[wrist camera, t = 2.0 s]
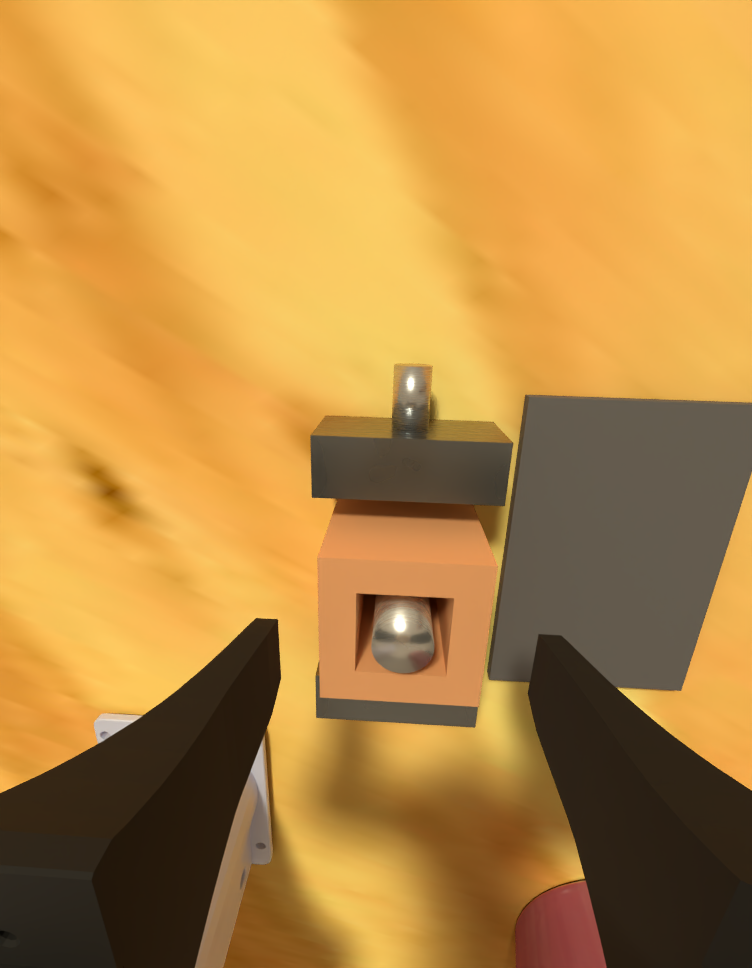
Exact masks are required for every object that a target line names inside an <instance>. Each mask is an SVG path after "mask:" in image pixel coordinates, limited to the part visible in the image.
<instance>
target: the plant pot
mask: <svg viewBox="0 0 752 968" xmlns="http://www.w3.org/2000/svg"><path fill="white" fill-rule="evenodd" d="M515 942H516V968H607V967H606V962H605V958H604V954H603V949H602V945H601V940H600V936H599V932H598V928H597V924H596V920H595V916H594V912H593V908H592V904H591V900H590V896H589V892H588V888H587V884H586V880H585V881H578V882H574V883H569V884H566V885H562V886H558V887H556V888H554V889H551V890H549V891H547V892H545V893H543V894H541V895H539V896H538V897H537V898H535V899H534V900H533V901H531V902H530V903H529V904H528V905H527V906H526V908H525V909H524V910H523V911H522V913H521V915H520V916H519V918H518V921H517V924H516V930H515Z"/></svg>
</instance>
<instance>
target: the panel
mask: <svg viewBox="0 0 752 968" xmlns="http://www.w3.org/2000/svg"><path fill="white" fill-rule="evenodd" d="M751 472H752V403H743V402H715V401H687V400H659V399H630V398H602V397H574V396H545V395H525V402H524V409H523V416H522V424H521V431H520V438H519V445H518V453H517V460H516V467H515V474H514V482H513V489H512V496H511V503H510V511H509V518H508V525H507V532H506V539H505V547H504V554H503V561H502V568H501V576H500V583H499V590H498V597H497V605H496V612H495V619H494V626H493V634H492V641H491V648H490V655H489V663H488V670H487V672H488V676H489V680H503V681H520V682H530V679H531V673H532V668H533V662H534V657H535V651H536V646H537V640H538V634H547V635H561V636H563V637H564V638H565V639H566V640H567V641H568V642H569V643H570V644H571V645H572V646H573V647H574V648H575V649H576V650H577V651H578V652H579V653H580V654H581V655H582V656H583V657H584V658H585V659H586V660H588V661H589V662H590V663H591V664H592V665H593V666H594V667H595V668H596V669H597V670H598V671H599V672H600V673H601V674H602V675H603V676H604V677H605V678H606V679H607V680H608V681H609V682H610V683H612V684H613V685H614V686H615V687H625V688H642V689H660V690H677V691H681V689H682V686H683V683H684V680H685V677H686V674H687V671H688V668H689V665H690V661H691V658H692V655H693V652H694V649H695V646H696V643H697V640H698V637H699V634H700V630H701V627H702V624H703V621H704V618H705V615H706V612H707V609H708V606H709V603H710V599H711V596H712V593H713V590H714V587H715V584H716V581H717V578H718V575H719V572H720V568H721V565H722V562H723V559H724V556H725V553H726V550H727V547H728V544H729V541H730V537H731V534H732V531H733V528H734V525H735V522H736V519H737V516H738V513H739V510H740V506H741V503H742V500H743V497H744V494H745V491H746V488H747V485H748V482H749V479H750V475H751Z"/></svg>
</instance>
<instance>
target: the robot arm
mask: <svg viewBox="0 0 752 968" xmlns="http://www.w3.org/2000/svg"><path fill="white" fill-rule="evenodd" d="M280 680H281V670H280V652H279V634H278V619H261V618H256V619H255V620H254V621H253V622H251V623H250V624H249V625H248V626H247V627H246V628H245V629H244V630H243V631H242V632H241V633H240V634H239V635H238V636H237V637H236V638H235V639H234V640H233V641H232V642H231V643H230V644H229V645H228V646H227V647H226V648H225V649H224V650H223V651H222V652H220V653H219V654H218V655H217V656H216V657H215V658H214V659H213V660H212V661H211V662H210V663H209V664H207V665H206V666H205V667H204V668H203V669H202V670H201V671H200V672H198V673H197V674H196V675H195V676H194V677H193V678H191V679H190V680H189V681H188V682H187V683H185V684H184V685H183V686H182V687H181V688H179V689H178V690H177V691H176V692H174V693H173V694H172V695H171V696H169V697H168V698H167V699H166V700H164V701H163V702H162V703H160V704H159V705H157V706H156V707H154V708H153V709H152V710H150V711H149V712H147V713H146V714H145V715H143V716H142V715H126V714H110V713H105V714H101V715H99V717H98V718H97V719H96V721H95V722H94V729H95V733H96V737H97V741H98V744H97V745H95V746H94V747H92V748H90V749H88V750H86V751H85V752H83V753H81V754H79V755H78V756H76V757H74V758H72V759H70V760H68V761H66V762H64V763H62V764H61V765H59V766H57V767H55V768H53V769H51V770H49V771H47V772H45V773H43V774H41V775H39V776H37V777H35V778H32V779H30V780H28V781H26V782H24V783H22V784H19V785H17V786H15V787H13V788H11V789H9V790H6V791H4V792H2V793H0V968H223V967H224V963H225V960H226V956H227V952H228V949H229V945H230V941H231V938H232V934H233V930H234V927H235V923H236V919H237V915H238V912H239V908H240V904H241V901H242V897H243V893H244V890H245V886H246V882H247V879H248V875H249V871H250V868H251V864H262V865H263V864H268V863H269V862H270V861H271V859H272V855H273V845H272V831H271V817H270V803H269V789H268V775H267V762H266V748H265V732H266V729H267V726H268V724H269V721H270V718H271V715H272V712H273V708H274V704H275V700H276V696H277V692H278V688H279V684H280ZM528 696H529V700H530V705H531V710H532V714H533V718H534V722H535V727H536V731H537V734H538V736H539V739H540V742H541V745H542V748H543V751H544V754H545V756H546V759H547V762H548V765H549V768H550V770H551V773H552V776H553V779H554V781H555V784H556V787H557V790H558V792H559V795H560V798H561V801H562V803H563V806H564V809H565V812H566V814H567V817H568V820H569V823H570V826H571V829H572V833H573V836H574V839H575V842H576V846H577V850H578V853H579V857H580V861H581V865H582V869H583V872H584V876H585V880H586V884H587V888H588V892H589V896H590V900H591V904H592V908H593V912H594V916H595V920H596V924H597V928H598V932H599V936H600V940H601V945H602V949H603V954H604V958H605V962H606V967H607V968H752V791H751V790H750V789H748V788H747V787H745V786H744V785H742V784H741V783H739V782H738V781H736V780H735V779H733V778H732V777H730V776H728V775H727V774H725V773H724V772H722V771H721V770H719V769H718V768H716V767H715V766H714V765H712V764H711V763H709V762H708V761H706V760H705V759H703V758H702V757H701V756H699V755H698V754H697V753H695V752H694V751H693V750H691V749H690V748H688V747H687V746H686V745H684V744H683V743H682V742H680V741H679V740H678V739H676V738H675V737H674V736H672V735H671V734H670V733H669V732H667V731H666V730H665V729H664V728H662V727H661V726H660V725H659V724H657V723H656V722H655V721H654V720H653V719H651V718H650V717H649V716H648V715H647V714H645V713H644V712H643V711H642V710H641V709H640V708H638V707H637V706H636V705H635V704H634V703H633V702H631V701H630V700H629V699H628V698H627V697H626V696H625V695H624V694H622V693H621V692H620V691H619V690H618V689H617V688H616V687H615V686H614V685H613V684H612V683H610V682H609V681H608V680H607V679H606V678H605V677H604V676H603V675H602V674H601V673H600V672H599V671H598V670H597V669H596V668H595V667H594V666H593V665H592V664H591V663H590V662H589V661H588V660H586V659H585V658H584V657H583V656H582V655H581V654H580V653H579V652H578V651H577V650H576V649H575V648H574V647H573V646H572V645H571V644H570V643H569V642H568V641H567V640H566V639H565V638H564V637H563V636H561V635H547V634H538V640H537V646H536V651H535V657H534V662H533V668H532V673H531V679H530V684H529V690H528Z"/></svg>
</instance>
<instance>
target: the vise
mask: <svg viewBox="0 0 752 968" xmlns="http://www.w3.org/2000/svg"><path fill="white" fill-rule="evenodd" d="M432 367H433V366H432V365H426V364H407V363H405V364H394V381H393V406H392V418H372V417H346V416H325V417H324V419H323V420H322V421H321V423H320V424H319V425H318V426H317V428H316V429H315V430H314V432H313V433H312V434H311V477H312V498H335V499H358V500H380V501H403V502H426V503H448V504H471V505H494V506H505V500H506V493H507V485H508V478H509V470H510V463H511V455H512V448H513V442H512V441H511V440H510V439H509V438H508V437H507V436H506V435H505V434H504V433H503V432H502V431H501V430H500V429H499V428H498V427H497V426H496V424H495V423H494V422H479V421H452V420H429V411H430V397H431V382H432ZM371 649H372V654H373V656H374V658H375V660H376V661H377V662H378V663H379V664H380V665H381V666H382V667H384V668H385V669H387V670H389V671H392V672H396V673H411V672H415V671H417V670H420V669H421V668H423V667H425V666H426V665H427V664H428V663H429V662H430V660H431V659H432V657H433V654H434V638H433V629H432V619H431V610H430V601H429V597H418V596H399V595H379V594H376V598H375V610H374V621H373V633H372V645H371ZM477 710H478V707H471V706H454V705H438V704H421V703H404V702H387V701H371V700H354V699H337V698H320V674H319V663H318V668H317V672H316V718H329V719H346V720H362V721H378V722H395V723H411V724H427V725H444V726H460V727H475V724H476V717H477Z"/></svg>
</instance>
